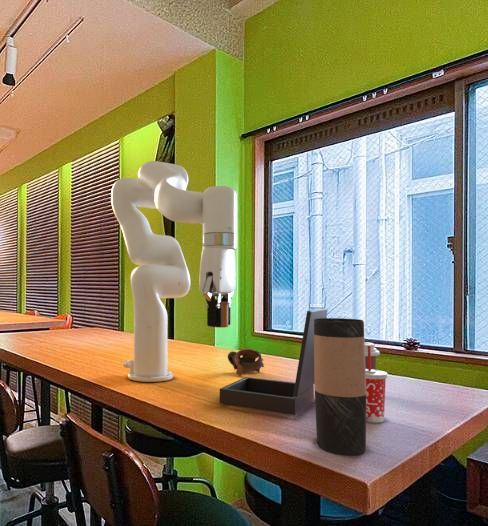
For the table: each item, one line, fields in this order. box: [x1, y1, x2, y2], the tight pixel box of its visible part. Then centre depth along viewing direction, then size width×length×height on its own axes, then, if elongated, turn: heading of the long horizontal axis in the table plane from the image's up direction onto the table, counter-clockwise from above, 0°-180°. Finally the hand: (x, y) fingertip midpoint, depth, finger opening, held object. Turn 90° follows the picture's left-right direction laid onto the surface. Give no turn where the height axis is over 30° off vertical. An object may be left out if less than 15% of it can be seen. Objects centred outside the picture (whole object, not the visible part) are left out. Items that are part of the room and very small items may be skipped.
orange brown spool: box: [209, 301, 230, 329], centre depth 97 cm, size 5×5×6 cm
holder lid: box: [293, 307, 329, 397], centre depth 90 cm, size 17×15×1 cm
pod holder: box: [219, 376, 315, 416], centre depth 94 cm, size 16×15×4 cm
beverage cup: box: [366, 345, 388, 424], centre depth 85 cm, size 6×6×14 cm
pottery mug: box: [227, 348, 265, 378], centre depth 128 cm, size 12×10×8 cm
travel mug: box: [314, 317, 367, 456], centre depth 70 cm, size 8×8×20 cm
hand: (218, 324), depth 97 cm, fingers closed on orange brown spool, 4 cm apart
